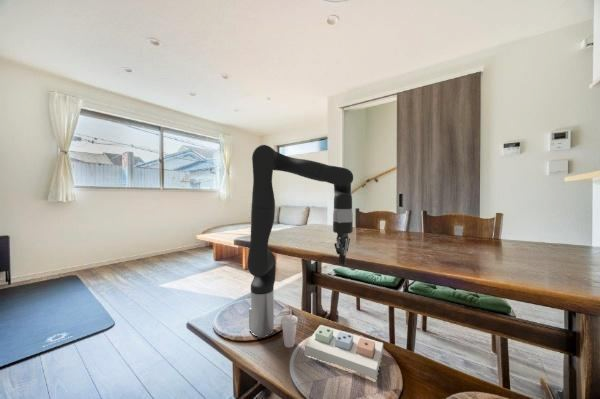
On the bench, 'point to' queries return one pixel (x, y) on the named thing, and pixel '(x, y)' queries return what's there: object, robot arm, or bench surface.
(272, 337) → the bench surface
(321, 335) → the tile two
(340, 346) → the tile three
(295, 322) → the smoothie
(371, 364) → the board
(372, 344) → the tile one
